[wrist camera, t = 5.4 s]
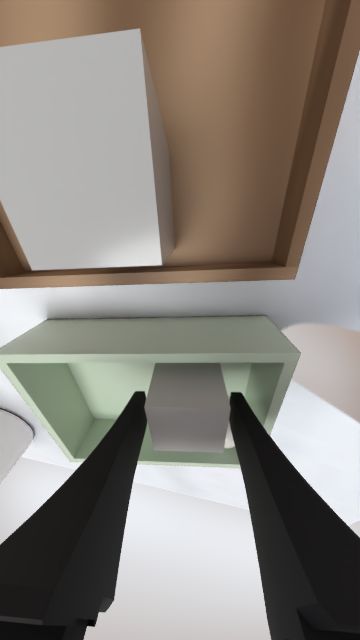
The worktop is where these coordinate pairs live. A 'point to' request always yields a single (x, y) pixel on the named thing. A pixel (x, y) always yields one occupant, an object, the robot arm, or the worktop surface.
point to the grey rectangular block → (188, 407)
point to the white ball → (229, 438)
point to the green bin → (142, 373)
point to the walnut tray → (217, 126)
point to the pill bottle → (12, 441)
